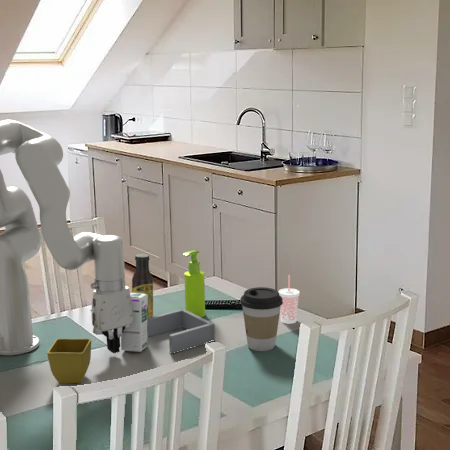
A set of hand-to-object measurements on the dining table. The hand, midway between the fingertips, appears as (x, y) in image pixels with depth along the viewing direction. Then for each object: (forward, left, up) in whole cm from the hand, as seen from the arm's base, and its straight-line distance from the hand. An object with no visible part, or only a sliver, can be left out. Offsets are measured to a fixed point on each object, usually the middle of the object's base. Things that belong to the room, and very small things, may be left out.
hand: (113, 351), depth 189 cm
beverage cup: (+52, -10, -2) cm, 53 cm away
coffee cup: (+34, -19, -2) cm, 39 cm away
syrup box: (+6, 0, -1) cm, 6 cm away
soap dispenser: (+33, +11, -2) cm, 35 cm away
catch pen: (+20, -1, -1) cm, 20 cm away
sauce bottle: (+19, +17, -2) cm, 26 cm away
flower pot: (-15, -6, -2) cm, 16 cm away
